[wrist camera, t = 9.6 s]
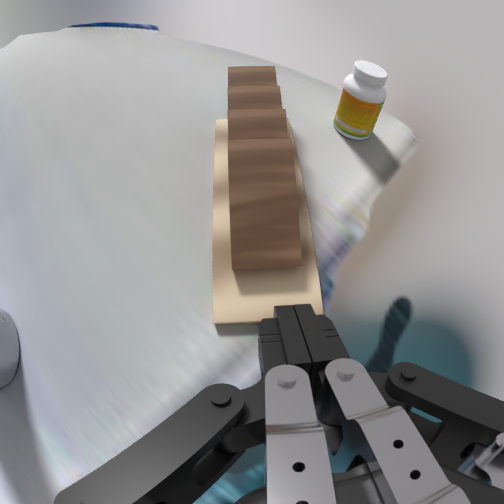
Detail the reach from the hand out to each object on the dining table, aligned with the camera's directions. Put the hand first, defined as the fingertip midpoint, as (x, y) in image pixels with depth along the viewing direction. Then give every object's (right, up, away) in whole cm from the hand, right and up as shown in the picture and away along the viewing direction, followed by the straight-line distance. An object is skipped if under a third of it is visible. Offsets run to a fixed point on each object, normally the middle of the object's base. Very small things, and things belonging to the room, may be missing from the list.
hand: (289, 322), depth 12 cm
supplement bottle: (+12, +19, +22) cm, 31 cm away
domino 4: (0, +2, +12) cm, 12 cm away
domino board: (-1, +8, +16) cm, 18 cm away
